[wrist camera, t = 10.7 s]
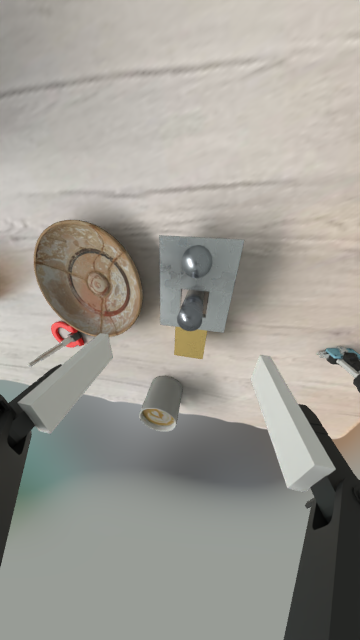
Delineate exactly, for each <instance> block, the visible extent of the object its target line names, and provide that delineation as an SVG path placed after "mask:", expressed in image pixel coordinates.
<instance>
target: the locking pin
mask: <svg viewBox="0 0 360 640" xmlns="http://www.w3.org/2000/svg"><path fill="white" fill-rule="evenodd" d="M203 301H204V291H199V290H188V292H187V295H186V297H185V300H184V302H183V304H182V307H181V309H180V311H179V314H178V316H177V323H178V325H179V326H180V327H181V328H182V329H183V330H186V331H195V330H197V329H198V328H199V327H200V326H201V324H202V317H203Z"/></svg>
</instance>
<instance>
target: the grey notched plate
mask: <svg viewBox="0 0 360 640" xmlns="http://www.w3.org/2000/svg"><path fill="white" fill-rule="evenodd" d="M159 240H160V325H167V326H175V327H176V328H175V351H174V355H178V356H185V357H191V358H198V359H203V353H204V347H205V341H206V335H207V331H214V332H222V333H224V329H225V324H226V320H227V315H228V311H229V306H230V302H231V297H232V293H233V288H234V284H235V280H236V275H237V271H238V266H239V262H240V257H241V253H242V248H243V244H244V240H239V239H220V238H201V237H181V236H162V235H159ZM182 289H188V290H199V291H209V296H208V303H207V310H206V314H203V317H202V324H201V326H200V327H199V328H198V329H197V330H195V331H186V330H183V329H182V328H181V327H180V326H179V325H178V323H177V316H178V314H179V311H180V309H181V297H182Z"/></svg>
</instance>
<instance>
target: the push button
mask: <svg viewBox="0 0 360 640" xmlns="http://www.w3.org/2000/svg"><path fill="white" fill-rule="evenodd" d="M337 348H339V349H337ZM337 348H327V349H326V350H325V351H323V352H317V355H320V356H319V357H320V358H327V359H326V360H327V361H329V362H330V363H331V364H338V365H340V366H341V367H343V368H344V369H345V370H346V371H347V372H348V373H350V374H351V375H352V376H353V377H354V378H355V379H354V382H353V384H354V385H355V386H356V387H357V389H358V391H359V392H360V354H358V353H357V352H355V351H354V350H353V349H350V348H347V349H345V348H344V347H342V346H337ZM341 348H343V349H341ZM319 353H320V354H319ZM321 356H323V357H321Z"/></svg>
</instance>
